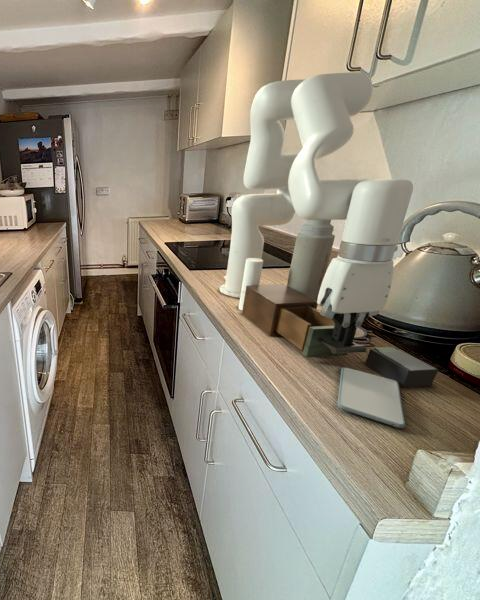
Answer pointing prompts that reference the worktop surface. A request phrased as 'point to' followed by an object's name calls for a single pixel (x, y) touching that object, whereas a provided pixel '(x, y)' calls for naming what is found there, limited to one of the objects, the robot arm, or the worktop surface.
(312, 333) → the drawer
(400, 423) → the smartphone
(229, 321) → the worktop surface
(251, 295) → the cabinet
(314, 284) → the thermos bottle
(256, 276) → the tube
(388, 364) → the gray rectangular block
